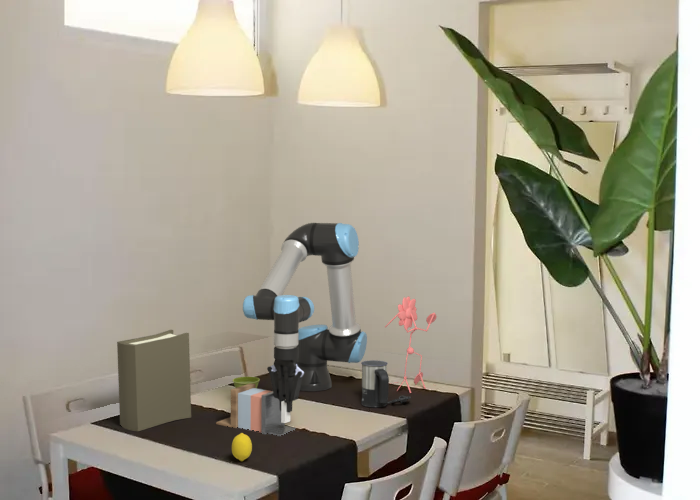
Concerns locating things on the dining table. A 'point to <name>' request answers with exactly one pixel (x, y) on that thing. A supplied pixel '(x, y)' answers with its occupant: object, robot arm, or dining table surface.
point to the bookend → (272, 416)
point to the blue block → (245, 407)
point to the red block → (256, 410)
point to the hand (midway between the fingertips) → (285, 421)
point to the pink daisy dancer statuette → (406, 318)
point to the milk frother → (376, 384)
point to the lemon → (241, 447)
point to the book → (154, 380)
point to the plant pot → (245, 381)
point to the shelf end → (235, 406)
